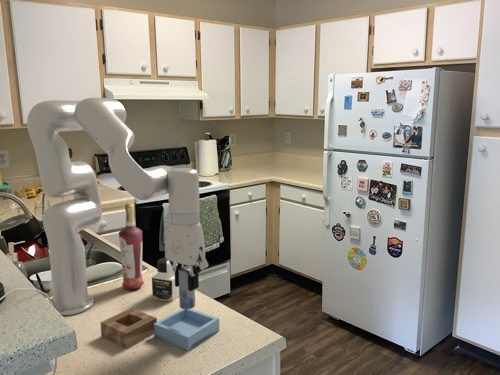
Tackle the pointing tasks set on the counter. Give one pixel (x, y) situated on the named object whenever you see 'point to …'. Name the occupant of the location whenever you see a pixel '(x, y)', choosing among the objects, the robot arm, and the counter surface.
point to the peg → (185, 289)
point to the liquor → (131, 251)
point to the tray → (186, 328)
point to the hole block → (128, 327)
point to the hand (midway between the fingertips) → (186, 286)
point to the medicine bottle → (164, 282)
